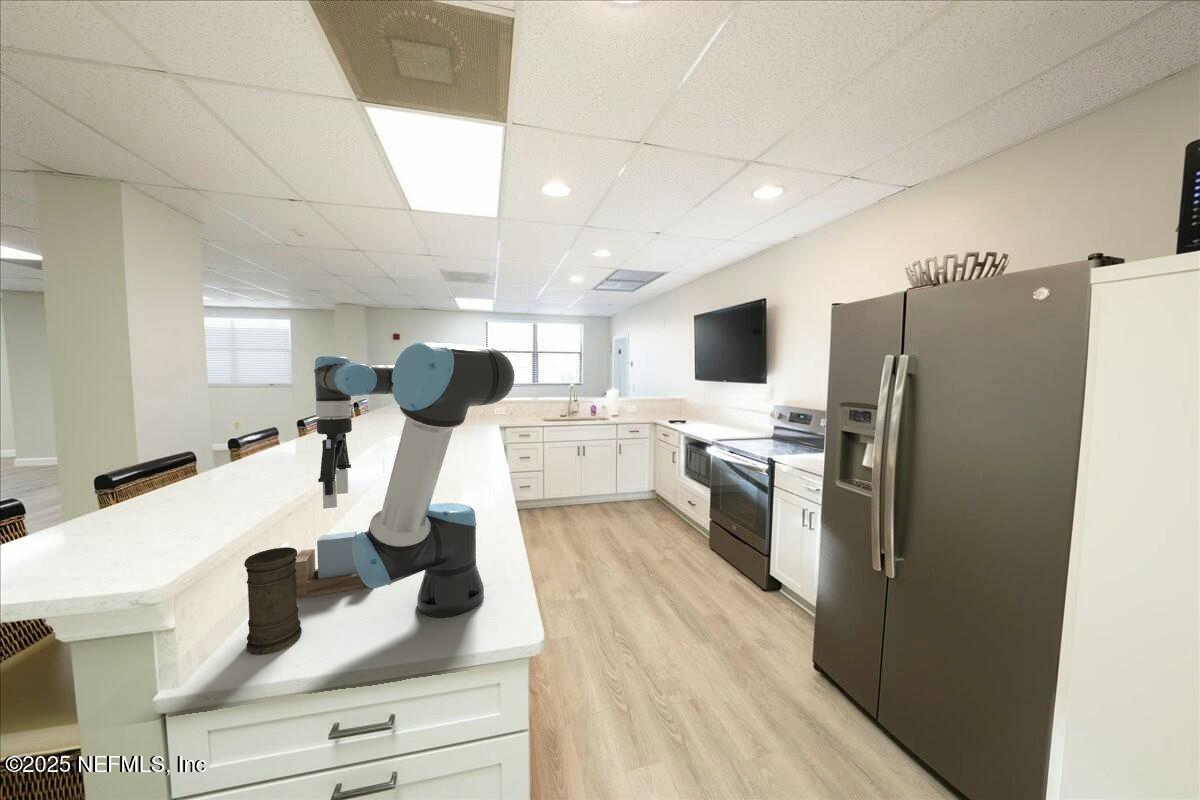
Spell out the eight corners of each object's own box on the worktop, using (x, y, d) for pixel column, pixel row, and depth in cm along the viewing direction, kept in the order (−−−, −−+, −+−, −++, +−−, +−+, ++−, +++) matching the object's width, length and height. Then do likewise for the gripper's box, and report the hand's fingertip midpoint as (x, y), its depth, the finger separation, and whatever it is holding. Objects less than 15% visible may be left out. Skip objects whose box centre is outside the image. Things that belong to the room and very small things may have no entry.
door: (355, 582, 107) (353, 536, 107) (318, 587, 104) (317, 541, 104) (357, 575, 111) (356, 531, 110) (322, 580, 108) (321, 535, 107)
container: (291, 651, 82) (288, 561, 81) (236, 659, 79) (232, 567, 78) (309, 625, 90) (306, 543, 89) (259, 632, 88) (256, 548, 87)
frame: (375, 586, 107) (375, 551, 107) (292, 599, 101) (291, 562, 100) (379, 572, 115) (379, 540, 114) (302, 584, 108) (301, 550, 108)
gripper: (340, 421, 95) (343, 512, 96) (359, 413, 119) (361, 487, 120) (301, 422, 93) (304, 516, 94) (329, 414, 116) (331, 489, 117)
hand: (336, 500), depth 107 cm, fingers open, 13 cm apart
